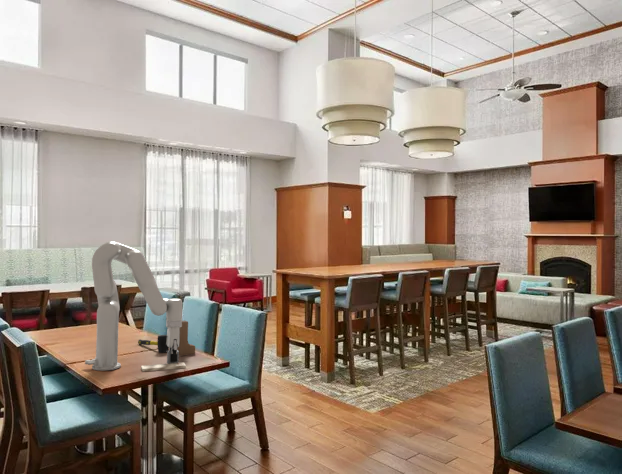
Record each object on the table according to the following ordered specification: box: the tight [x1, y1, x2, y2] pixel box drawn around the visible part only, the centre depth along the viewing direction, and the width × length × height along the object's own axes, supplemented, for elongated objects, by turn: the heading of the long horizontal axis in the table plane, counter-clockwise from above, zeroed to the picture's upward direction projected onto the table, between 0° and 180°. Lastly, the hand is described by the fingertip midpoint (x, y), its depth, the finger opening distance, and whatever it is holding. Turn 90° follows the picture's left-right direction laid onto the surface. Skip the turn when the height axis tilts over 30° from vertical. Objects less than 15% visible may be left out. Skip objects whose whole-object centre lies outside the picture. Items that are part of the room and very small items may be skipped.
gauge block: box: [166, 350, 180, 364], centre depth 241 cm, size 5×4×6 cm
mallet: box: [137, 334, 169, 354], centre depth 273 cm, size 29×6×10 cm, turn 48°
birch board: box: [140, 362, 187, 372], centre depth 233 cm, size 20×6×1 cm, turn 115°
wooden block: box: [177, 320, 196, 357], centre depth 262 cm, size 9×4×18 cm, turn 127°
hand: (172, 360), depth 241 cm, fingers closed on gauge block, 4 cm apart
